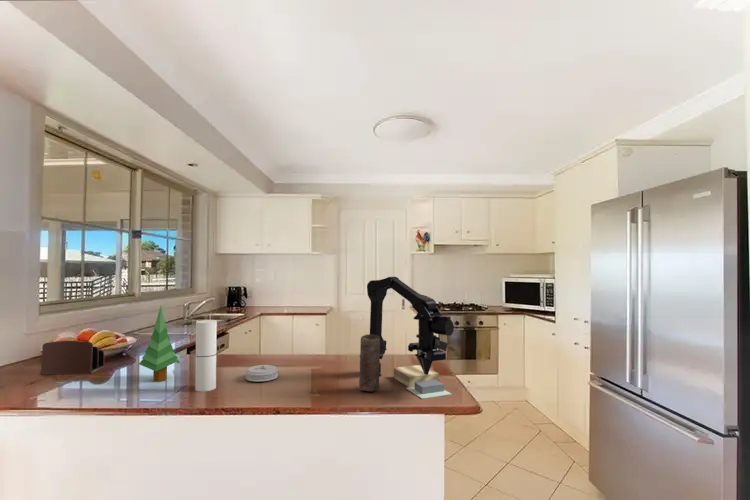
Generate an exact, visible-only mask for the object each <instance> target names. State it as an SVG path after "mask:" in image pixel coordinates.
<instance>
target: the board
mask: <svg viewBox="0 0 750 500" xmlns="http://www.w3.org/2000/svg"><path fill="white" fill-rule="evenodd" d="M393 379H395V380H397V381H398V382H400V383H401V384H403V385H404V386H406V388H410V387H415V382H421V381H429V380H437V381H439V382H440V373H439V372H437V371H435V370H433V369H431V368H430V370H429V373H428V375H425V374H424V372H423V369H422V367H421V365H420V364H417V365H407V366H398V367H393Z"/></svg>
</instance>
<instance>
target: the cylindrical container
mask: <svg viewBox="0 0 750 500" xmlns="http://www.w3.org/2000/svg"><path fill="white" fill-rule="evenodd" d="M217 321H218V320H215V319H204V320H197V321H196V322H195V388H194V389H195V391H196V392H200V393H201V392H204V393H205V392H211V391H212V390H215V389H216V388H217V327H218V325H217V324H218V323H217Z"/></svg>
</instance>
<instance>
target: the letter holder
mask: <svg viewBox="0 0 750 500" xmlns="http://www.w3.org/2000/svg"><path fill="white" fill-rule="evenodd" d="M41 349H42V350H41V351H42V352H41V369H40V375H41V376H53V375H56V376H58V375H92V374H94V373H96V372H98V371H100V370H102V369H104V368H105V351H104V350H103V349H99V348H98V347H97V346H94V344H93V342H90V341H84V340H58V341H48V342H45V343H43V344H42V347H41Z"/></svg>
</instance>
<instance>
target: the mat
mask: <svg viewBox="0 0 750 500" xmlns="http://www.w3.org/2000/svg"><path fill="white" fill-rule="evenodd" d="M406 390H408V391H409V392H411V393H412V394H414V395H415V396H417V397H418V398H420V399H421V400H425V399H432V398H438V397H439V398H440V397H445V396H446V397H447V396H452V393H451V392H449V391H447V390H445V389H444V391H442V392H435V393H428V394H421V393H420V392H418V391H417V390H415V387H410V388H409V387H406Z"/></svg>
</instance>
